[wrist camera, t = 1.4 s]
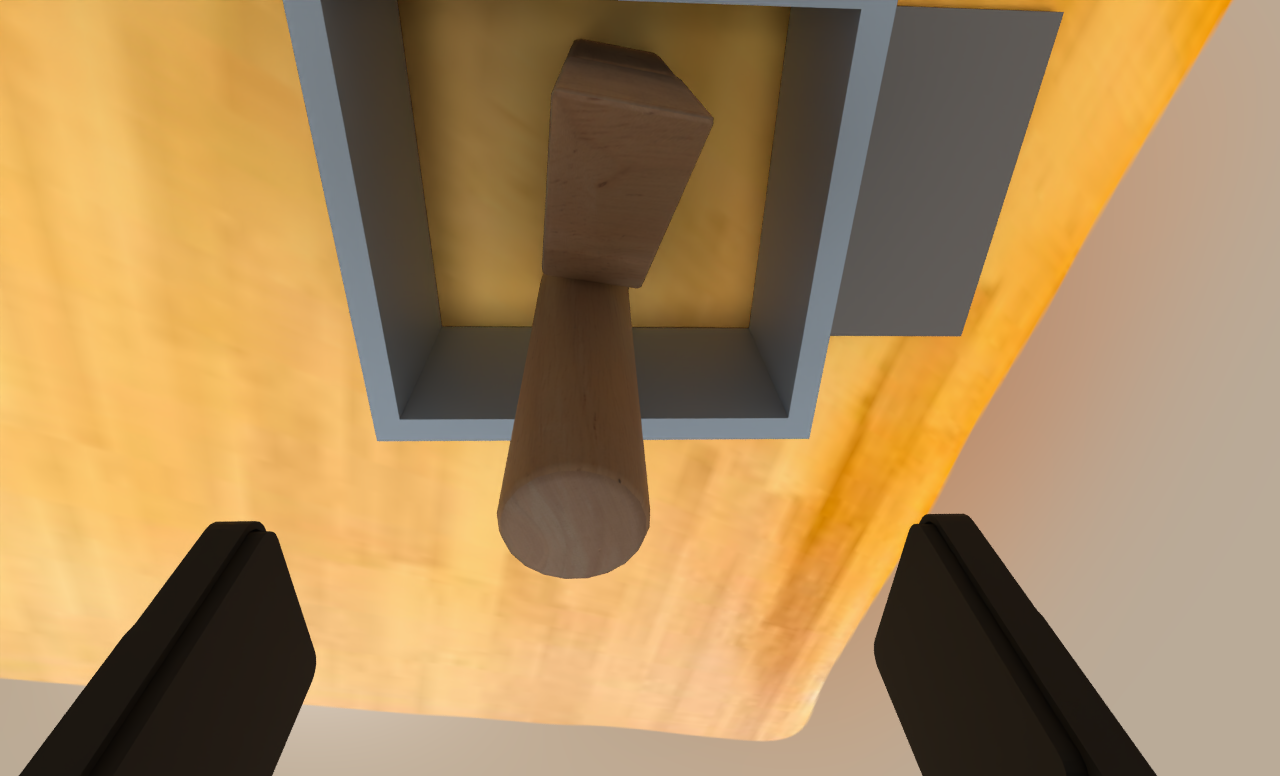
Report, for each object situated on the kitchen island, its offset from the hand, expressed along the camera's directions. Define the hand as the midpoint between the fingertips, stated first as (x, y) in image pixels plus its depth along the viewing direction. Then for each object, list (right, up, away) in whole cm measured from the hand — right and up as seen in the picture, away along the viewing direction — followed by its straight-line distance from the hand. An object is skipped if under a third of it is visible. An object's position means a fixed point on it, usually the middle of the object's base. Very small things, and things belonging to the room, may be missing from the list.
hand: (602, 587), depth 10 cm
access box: (-1, +12, +19) cm, 22 cm away
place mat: (+13, +12, +20) cm, 26 cm away
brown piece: (-1, +12, +19) cm, 23 cm away
